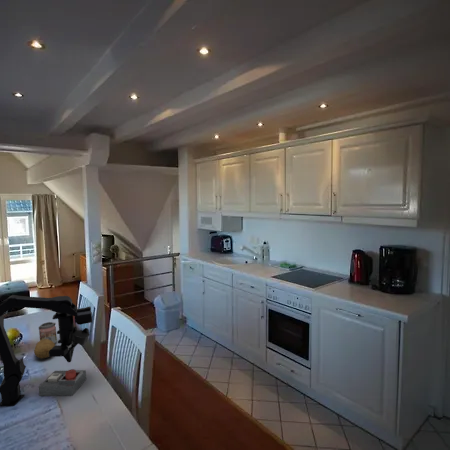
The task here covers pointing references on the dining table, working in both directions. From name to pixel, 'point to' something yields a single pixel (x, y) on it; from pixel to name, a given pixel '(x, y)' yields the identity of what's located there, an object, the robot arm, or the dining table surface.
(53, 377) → the on key
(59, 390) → the grey flat box
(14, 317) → the dining table surface
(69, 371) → the button
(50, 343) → the potato
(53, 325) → the beverage can
